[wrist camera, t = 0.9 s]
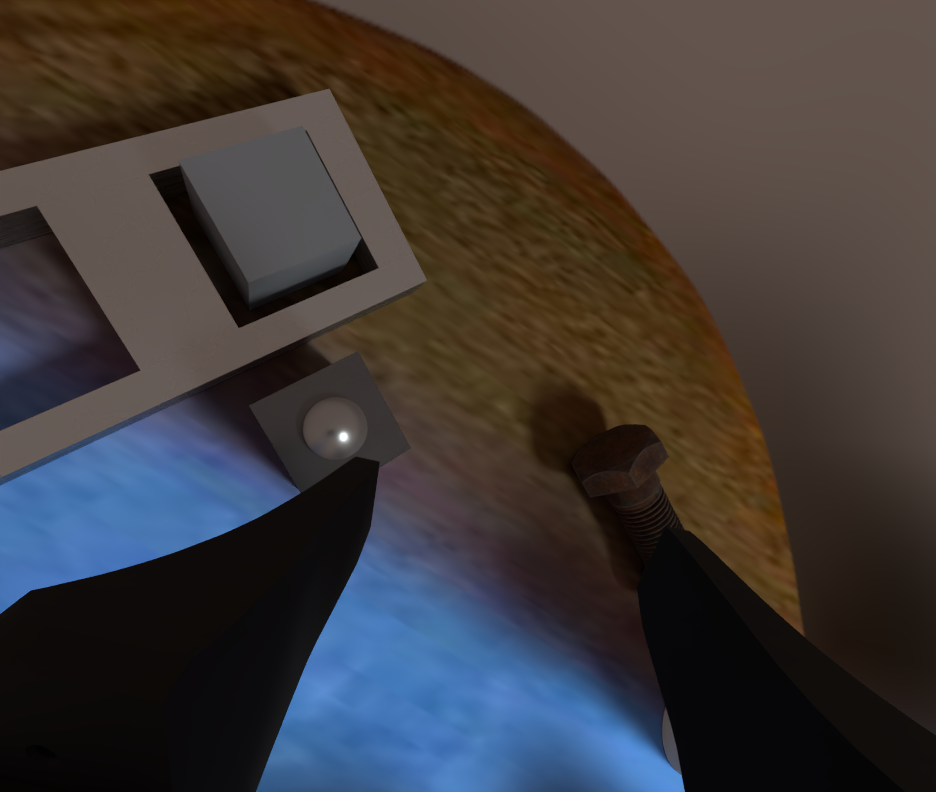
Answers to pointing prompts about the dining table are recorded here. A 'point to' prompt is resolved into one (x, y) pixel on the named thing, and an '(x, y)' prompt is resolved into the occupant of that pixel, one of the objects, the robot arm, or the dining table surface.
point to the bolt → (629, 482)
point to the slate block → (270, 214)
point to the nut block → (329, 422)
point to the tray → (183, 266)
